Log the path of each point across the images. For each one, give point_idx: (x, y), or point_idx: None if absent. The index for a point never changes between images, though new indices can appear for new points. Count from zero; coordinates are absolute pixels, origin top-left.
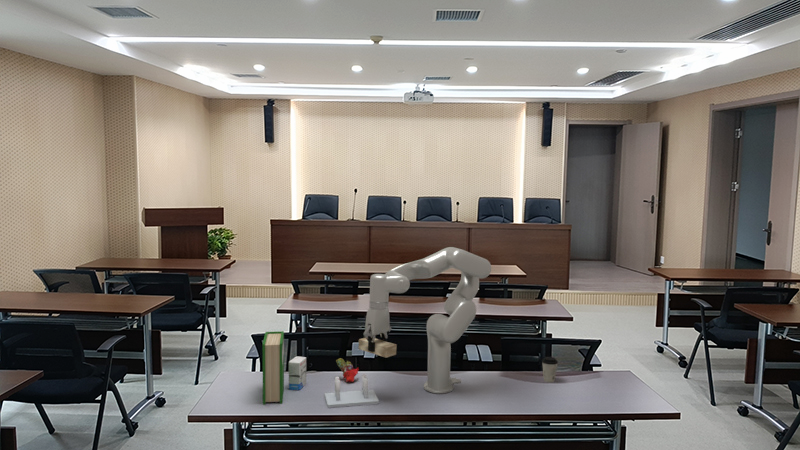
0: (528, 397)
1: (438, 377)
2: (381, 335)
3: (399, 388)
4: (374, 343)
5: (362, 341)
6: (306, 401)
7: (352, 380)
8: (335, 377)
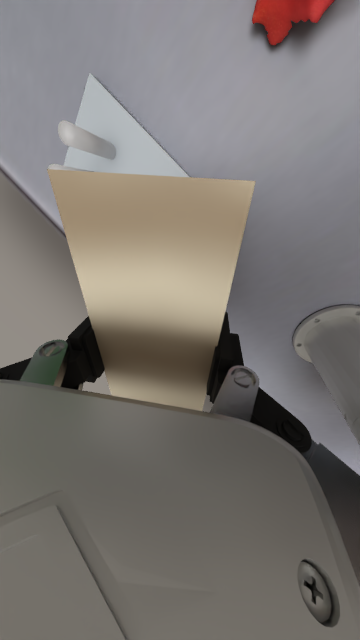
0: (335, 439)
1: (317, 370)
2: (222, 390)
3: (292, 259)
4: (93, 374)
5: (74, 241)
6: (23, 60)
7: (271, 37)
8: (60, 126)
